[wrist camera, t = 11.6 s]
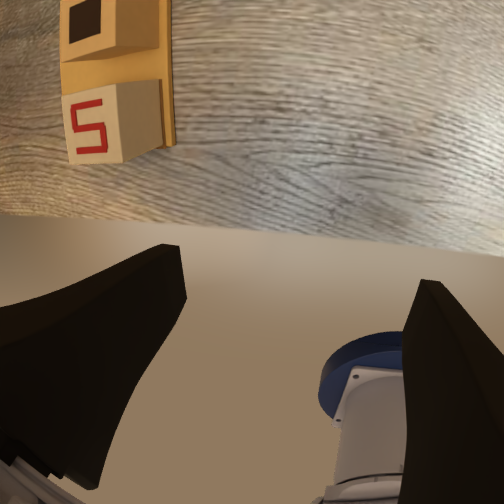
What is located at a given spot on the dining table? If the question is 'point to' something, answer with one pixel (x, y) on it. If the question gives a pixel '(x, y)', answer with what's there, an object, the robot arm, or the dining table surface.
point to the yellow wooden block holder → (118, 48)
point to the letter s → (112, 122)
